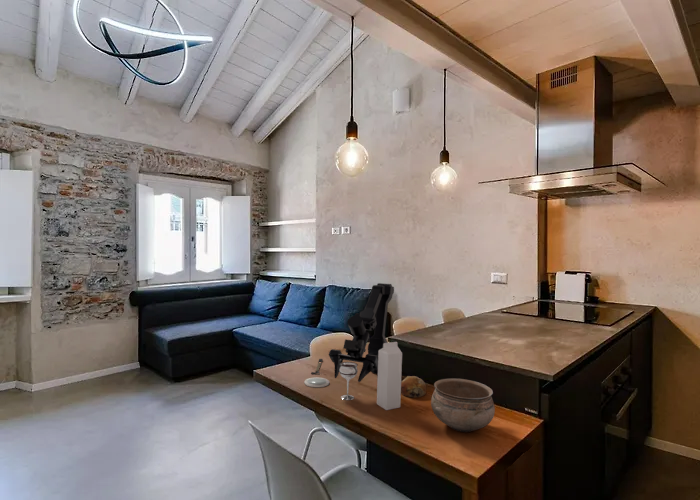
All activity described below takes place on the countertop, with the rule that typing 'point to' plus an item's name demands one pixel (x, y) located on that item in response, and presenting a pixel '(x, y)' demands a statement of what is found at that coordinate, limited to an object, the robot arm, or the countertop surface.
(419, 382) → the bread roll
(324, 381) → the plate
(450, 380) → the cooking pot
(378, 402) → the milk
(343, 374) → the wineglass
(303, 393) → the countertop surface
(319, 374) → the tactical tomahawk
